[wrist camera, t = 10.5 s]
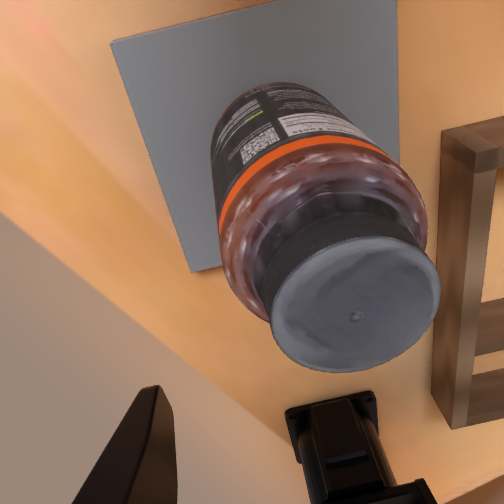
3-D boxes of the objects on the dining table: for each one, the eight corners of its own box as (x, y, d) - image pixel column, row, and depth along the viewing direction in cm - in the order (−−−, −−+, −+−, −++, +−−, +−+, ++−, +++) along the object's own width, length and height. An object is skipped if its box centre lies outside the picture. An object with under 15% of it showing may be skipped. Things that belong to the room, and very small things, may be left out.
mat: (392, 214, 23) (400, 223, 22) (191, 262, 23) (191, 272, 22) (386, -27, 17) (396, -27, 16) (113, 40, 17) (109, 43, 16)
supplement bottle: (302, 224, 22) (386, 423, 12) (188, 181, 20) (183, 377, 10) (367, 112, 19) (542, 256, 9) (243, 50, 17) (306, 152, 8)
